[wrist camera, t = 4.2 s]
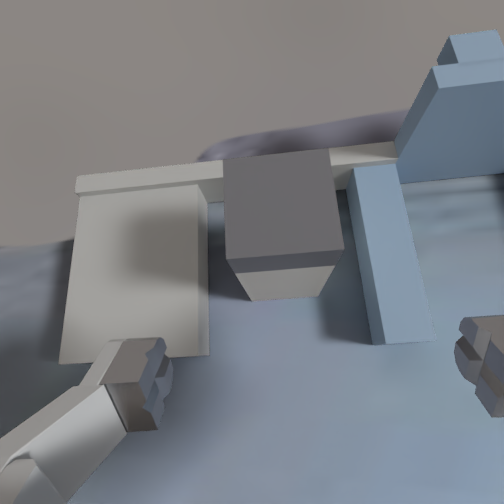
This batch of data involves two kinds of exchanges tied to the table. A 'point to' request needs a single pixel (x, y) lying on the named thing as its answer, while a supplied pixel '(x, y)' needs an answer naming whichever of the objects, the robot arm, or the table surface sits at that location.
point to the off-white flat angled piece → (156, 253)
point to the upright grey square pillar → (281, 223)
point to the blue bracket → (426, 178)
